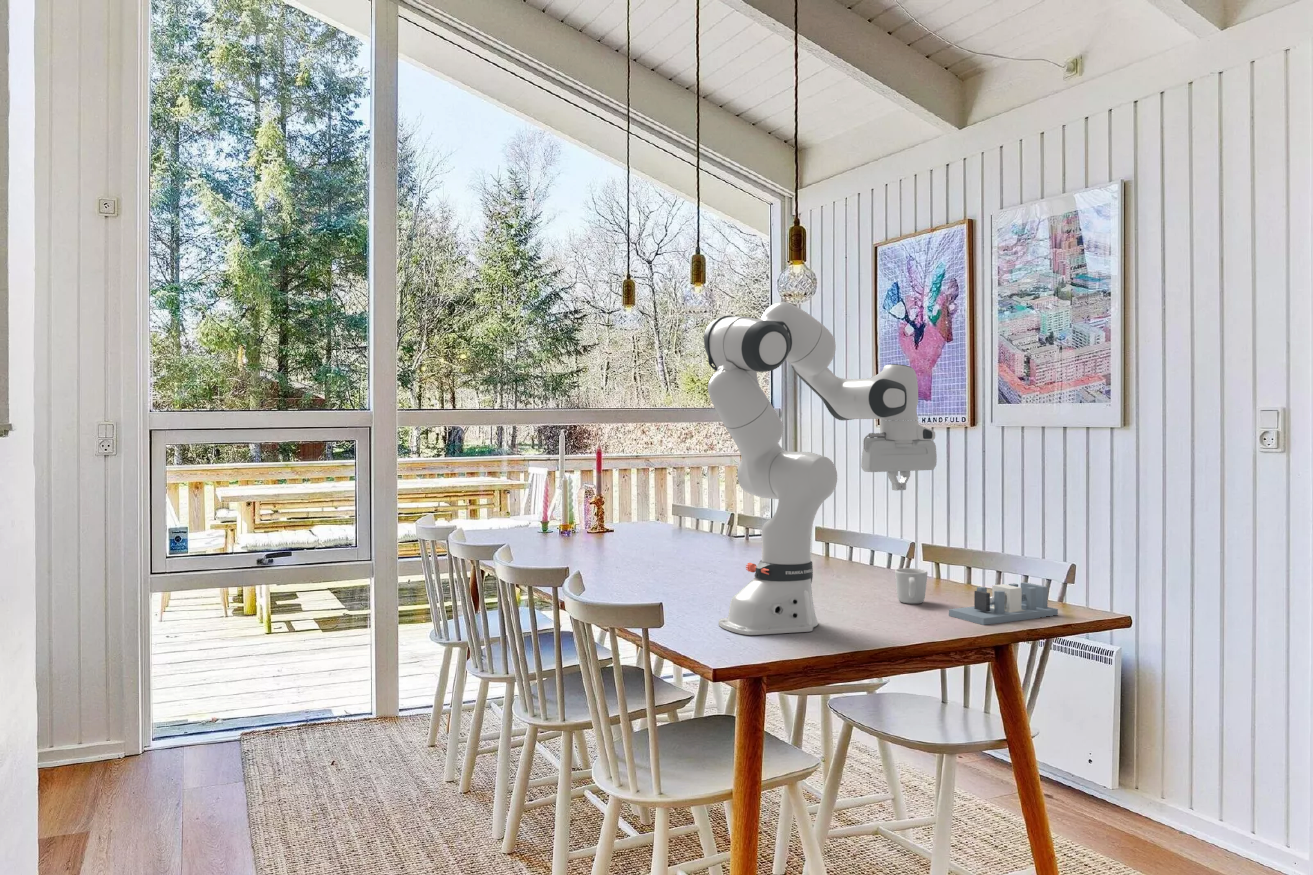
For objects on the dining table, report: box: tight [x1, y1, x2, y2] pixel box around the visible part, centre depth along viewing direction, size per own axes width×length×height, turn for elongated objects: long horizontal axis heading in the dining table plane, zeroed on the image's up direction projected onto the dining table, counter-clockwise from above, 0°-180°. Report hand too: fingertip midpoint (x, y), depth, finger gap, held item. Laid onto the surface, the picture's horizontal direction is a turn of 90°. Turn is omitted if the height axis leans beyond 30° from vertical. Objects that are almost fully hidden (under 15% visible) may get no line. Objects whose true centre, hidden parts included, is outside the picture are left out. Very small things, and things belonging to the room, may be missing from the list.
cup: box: [894, 567, 928, 605], centre depth 237 cm, size 11×8×8 cm
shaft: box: [973, 590, 1026, 612], centre depth 222 cm, size 14×4×4 cm, turn 115°
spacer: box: [991, 583, 1022, 611], centre depth 222 cm, size 4×6×5 cm, turn 25°
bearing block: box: [948, 581, 1059, 626], centre depth 222 cm, size 23×11×6 cm, turn 115°
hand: (899, 490), depth 227 cm, fingers closed
